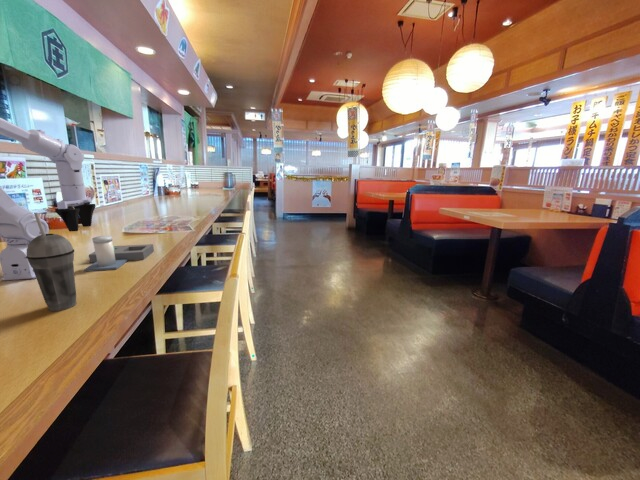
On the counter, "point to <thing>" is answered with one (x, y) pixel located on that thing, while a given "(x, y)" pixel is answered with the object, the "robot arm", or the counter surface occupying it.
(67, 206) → the robot arm
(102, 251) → the cylinder
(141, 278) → the counter surface
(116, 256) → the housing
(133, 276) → the counter surface
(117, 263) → the mat
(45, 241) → the beverage cup
